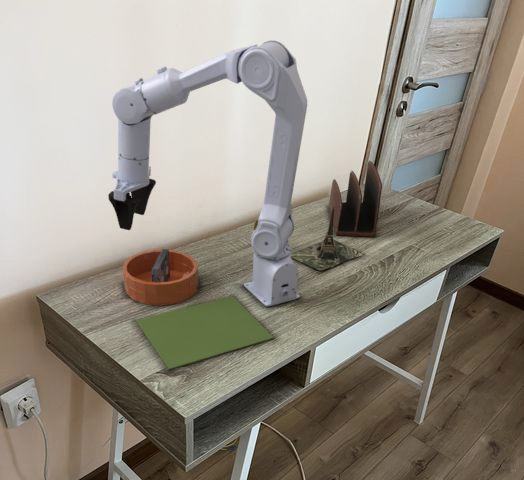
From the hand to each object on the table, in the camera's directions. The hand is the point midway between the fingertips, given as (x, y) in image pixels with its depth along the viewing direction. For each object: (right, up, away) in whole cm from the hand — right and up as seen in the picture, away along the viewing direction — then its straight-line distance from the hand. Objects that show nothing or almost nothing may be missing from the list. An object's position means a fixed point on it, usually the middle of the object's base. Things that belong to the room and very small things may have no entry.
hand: (132, 220), depth 108 cm
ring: (+28, -2, +17) cm, 33 cm away
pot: (+6, -13, 0) cm, 15 cm away
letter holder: (+50, +8, +32) cm, 60 cm away
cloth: (+16, -23, -12) cm, 30 cm away
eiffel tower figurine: (+41, -5, +14) cm, 44 cm away
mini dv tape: (+6, -13, 0) cm, 15 cm away
